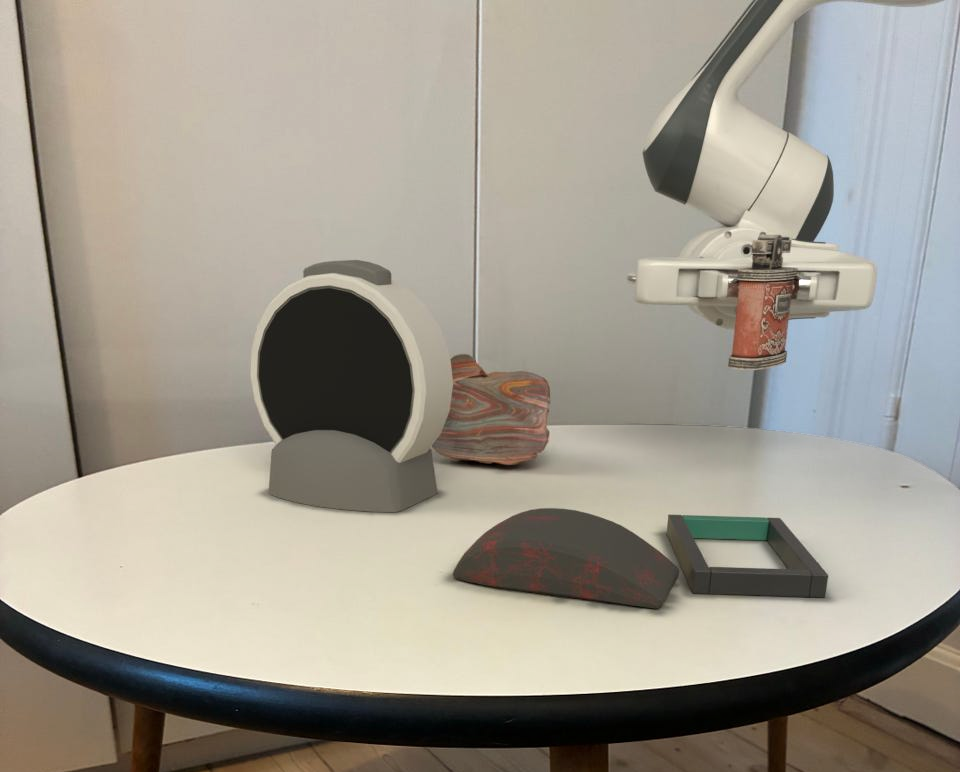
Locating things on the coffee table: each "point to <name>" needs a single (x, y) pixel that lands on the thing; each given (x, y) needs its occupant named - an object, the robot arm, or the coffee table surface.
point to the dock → (794, 581)
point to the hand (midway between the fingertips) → (769, 287)
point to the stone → (494, 415)
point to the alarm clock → (351, 389)
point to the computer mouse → (569, 559)
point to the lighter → (763, 306)
